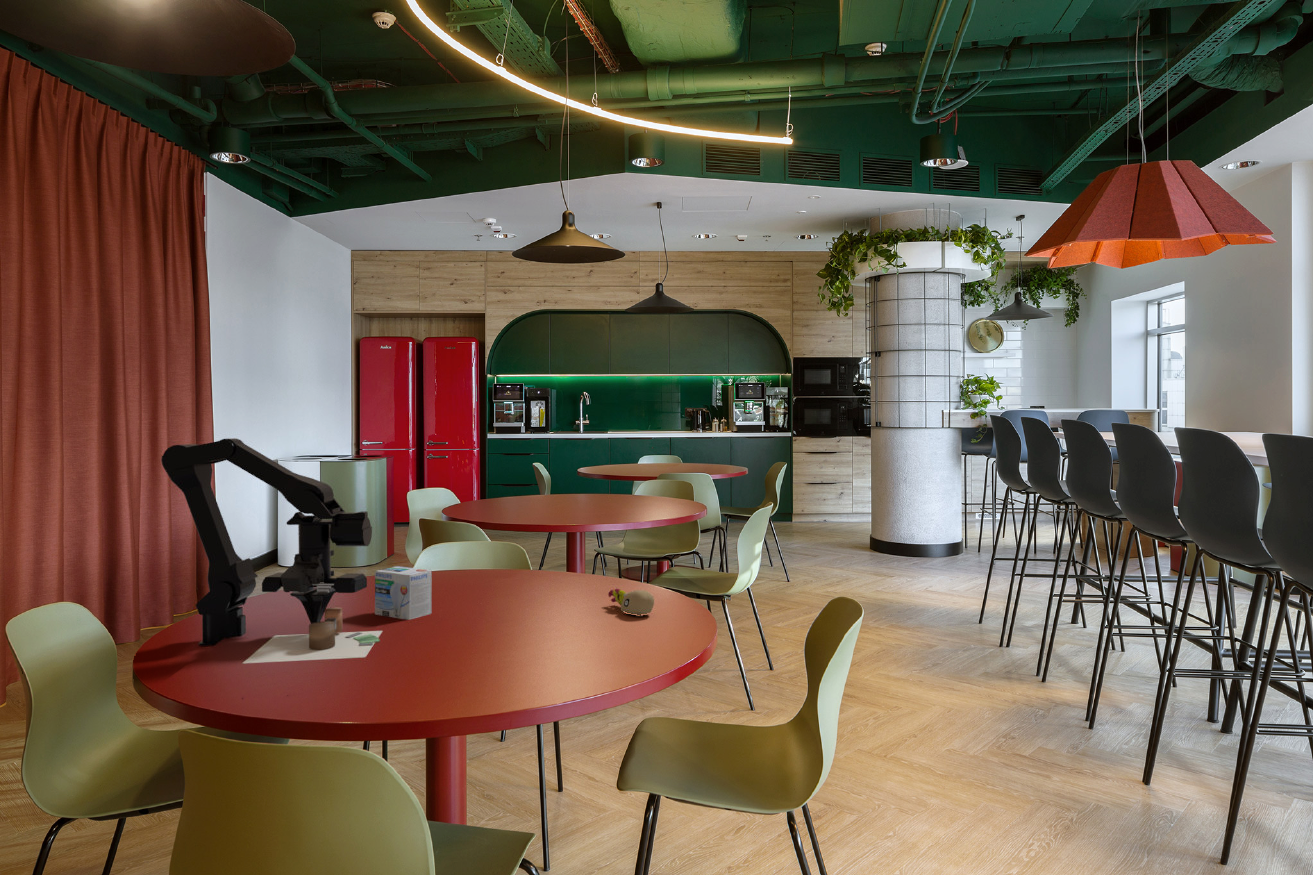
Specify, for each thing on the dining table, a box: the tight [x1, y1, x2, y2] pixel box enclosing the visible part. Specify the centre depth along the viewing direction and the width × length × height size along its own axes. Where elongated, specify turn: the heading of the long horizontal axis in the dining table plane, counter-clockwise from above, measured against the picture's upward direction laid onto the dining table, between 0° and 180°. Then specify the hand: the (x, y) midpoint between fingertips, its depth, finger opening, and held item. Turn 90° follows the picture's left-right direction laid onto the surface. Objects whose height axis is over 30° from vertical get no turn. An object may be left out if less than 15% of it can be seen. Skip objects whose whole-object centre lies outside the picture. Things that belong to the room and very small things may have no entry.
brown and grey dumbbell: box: [308, 606, 343, 649], centre depth 145 cm, size 13×4×5 cm, turn 10°
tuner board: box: [242, 630, 383, 664], centre depth 142 cm, size 21×18×1 cm
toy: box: [607, 588, 655, 615], centre depth 174 cm, size 6×7×15 cm
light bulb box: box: [374, 566, 433, 621], centre depth 167 cm, size 11×7×11 cm, turn 62°
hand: (315, 626), depth 150 cm, fingers closed
